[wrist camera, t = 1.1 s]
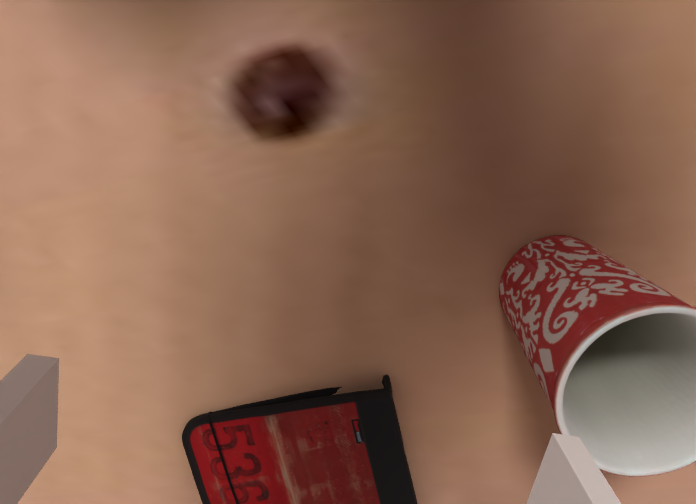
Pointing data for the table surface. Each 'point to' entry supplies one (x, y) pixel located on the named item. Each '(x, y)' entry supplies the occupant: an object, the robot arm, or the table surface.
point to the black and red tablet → (302, 451)
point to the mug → (606, 354)
